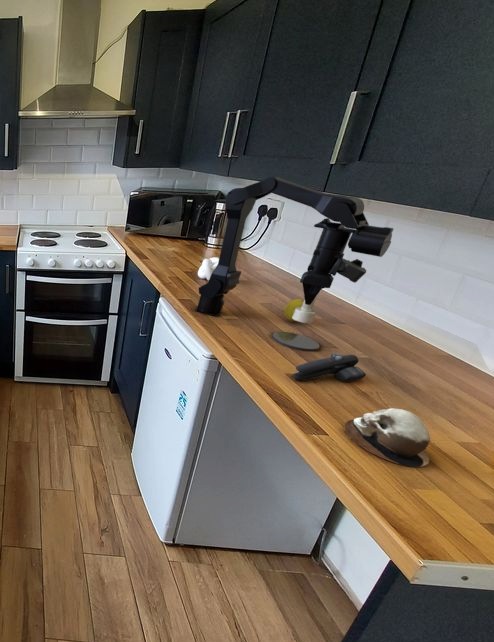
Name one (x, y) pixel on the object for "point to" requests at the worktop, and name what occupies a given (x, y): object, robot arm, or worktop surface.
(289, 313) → the lemon
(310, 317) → the pestle
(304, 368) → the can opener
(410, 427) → the skull
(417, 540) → the worktop surface
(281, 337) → the coaster
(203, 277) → the white rounded lump
